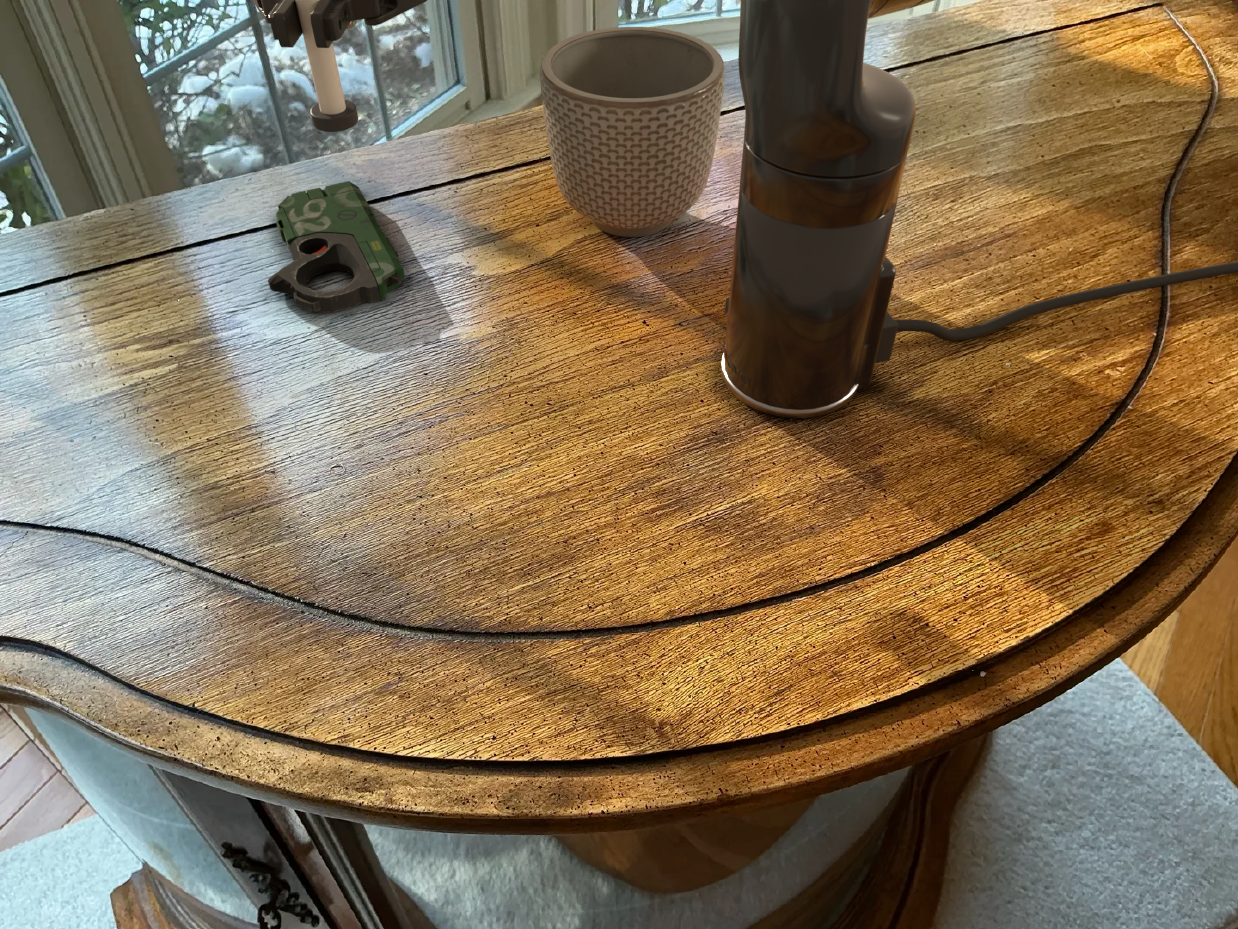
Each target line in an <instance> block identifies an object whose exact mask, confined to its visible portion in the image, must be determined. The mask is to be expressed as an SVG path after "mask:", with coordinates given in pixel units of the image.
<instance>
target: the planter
mask: <svg viewBox="0 0 1238 929" xmlns="http://www.w3.org/2000/svg"><path fill="white" fill-rule="evenodd" d="M539 68H540V70H539V82H540V84H539V85H540V93H541V101H542V109H543V116H544V124H545V133H546V139H547V144H548V151H549V157H550V163H551V168H552V172H553V176H554V179H555V180H554V181H555V183H556V186H557V188H558V190H559V192H560V194H561V196H562V197H563V199H564V200H565V202H566V203H567V204H568V205H569V206H570V207H571V208H572V209H573V210H574V211H575V212H576V213H578V214H580V215H581V216H582V217H584V218H586V219H588V220H589V221H590V222H591V223H592V224H593V226H595V227H596V228H597V229H599V230H600V231H602V232H604V233H606V234H609V235H612V236H616V237H620V238H642V237H647V236H651V235H654V234H657V233H659V232H662V231H664V230H665V229H666V228H667V227H668V226H670V224H671V223H672V222H673V221H674V220H676V219H677V218H680V217H681V216H682V215H684V214H685V213H686V212H688V211H689V210H690V209H692V208H693V206H695V204H696V203H697V202H698V201H699V200H700V198H701V196H702V195H703V193H704V191H705V189H706V187H707V184H708V181H709V177H710V174H711V171H712V167H713V162H714V156H715V151H716V146H717V139H718V135H719V128H720V119H721V112H722V104H723V98H724V90H725V81H726V78H725V76H726V75H725V61H724V59H723V57H722V55H721V54H720V53H719V51H718V50H717V49H716V48H714V47H713V46H712V45H711V44H709V43H708V42H705V41H704V40H703V39H700V38H698V37H695V36H693V35H691V34H688V33H683V32H680V31H677V30H671V29H667V28H658V27H651V26H650V27H649V26H648V27H647V26H616V27H615V26H614V27H607V28H606V27H605V28H599V29H593V30H589V31H584V32H581V33H578V34H574V35H572V36H569V37H567V38H564V39H563V40H560V41H559V42H557V43H556V44H555V45H553V46H551V48H549V50H547V51H546V52H545V54H544V55H543V57H542V59H541V62H540V67H539Z"/></svg>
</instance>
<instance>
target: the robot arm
mask: <svg viewBox="0 0 1238 929" xmlns="http://www.w3.org/2000/svg"><path fill="white" fill-rule="evenodd" d="M251 1H252V3H253V4H254V6H255V7H256V9H257V11H258V12H259V13H260V15H261V16H262V18H263V19H264V21H265V22H266V23H267V24H269V25H270V28H271V32H272V37H273V39H274V41H278V44H279V46H280V47H281V48H294V47H295V45H296V44H297V42H298V41H299V39H300V38H301V37H302V36H303V33H302V28H301V24H300V19H299V15H298V11H297V6H296V2H295V0H251ZM934 1H935V0H740V4H739V5H740V6H739V7H740V8H739V33H738V34H739V35H738V36H739V37H738V74H739V83H740V89H741V94H742V98H743V106H744V112H745V113H744V114H745V116H744V129H743V143H742V154H741V165H740V176H739V189H738V197H737V211H736V221H735V231H734V241H733V242H734V243H733V251H732V264H731V273H730V284H729V296H728V297H727V298H726V299H725V305H724V315H727V316H726V317H727V318H726V329H725V339H724V341H723V342H724V343H723V354H722V357H721V368H720V369H721V370H720V371H721V378H722V380H723V382H724V384H725V386H726V387H727V389H728V390H729V392H730V393H731V394H732V395H733V396H734V397H735V398H737V399H738V400H739V401H740V402H742V403H743V404H745V405H746V406H748V407H750V408H752V409H754V410H756V411H758V412H762V413H764V414H767V415H770V416H771V415H772V416H776V417H779V418H780V417H781V418H787V419H788V418H789V419H808V418H815V417H821V416H824V415H828V414H831V413H833V412H835V411H837V410H839V409H841V408H842V407H844V406H846V405H847V404H848V403H849V402H850V401H852V399H853V398H854V396H855V395H856V393H857V392H859V391H861V390H866V389H869V388H870V387H871V383H872V379H873V374H874V370H875V365H876V364H880V363H885V362H889V361H890V360H891V357H892V353H893V349H894V344H895V340H896V337H897V333H899V332H901V333H902V332H917V333H925V334H926V333H927V334H931V335H933V336H935V337H937V338H938V339H941V340H943V341H948V342H959V341H966V340H972V339H976V338H979V337H982V336H984V335H988V334H990V333H993V332H995V331H997V330H1000V329H1003V328H1005V327H1007V326H1009V325H1012V324H1013V323H1016V322H1019V321H1021V320H1023V319H1026V318H1030V317H1031V316H1034V315H1038V314H1042V313H1046V312H1049V311H1054V310H1058V309H1061V308H1064V307H1070V306H1074V305H1078V304H1083V303H1088V302H1093V301H1097V300H1103V299H1107V298H1112V297H1116V296H1121V295H1127V294H1131V293H1135V292H1136V293H1137V292H1140V291H1141V292H1142V291H1146V290H1150V289H1155V288H1161V287H1164V286H1170V285H1171V286H1172V285H1174V284H1175V285H1176V284H1181V283H1185V282H1191V281H1197V280H1202V279H1206V278H1212V277H1218V276H1219V277H1220V276H1224V275H1230V274H1235V273H1238V260H1237V261H1231V262H1226V263H1220V264H1214V265H1209V266H1204V267H1198V268H1193V269H1188V270H1187V269H1186V270H1181V271H1177V272H1172V273H1166V274H1161V275H1156V276H1152V277H1146V278H1141V279H1136V280H1131V281H1126V282H1121V283H1117V284H1112V285H1107V286H1103V287H1098V288H1092V289H1087V290H1083V291H1079V292H1073V293H1069V294H1065V295H1059V296H1057V297H1053V298H1052V297H1051V298H1048V299H1044V300H1040V301H1037V302H1034V303H1030V304H1027V305H1024V306H1021V307H1019V308H1016V309H1014V310H1011V311H1009V312H1006V313H1004V314H1002V315H999V316H997V317H995V318H993V319H989V320H988V321H986V322H982V323H979V324H977V325H974V326H969V327H964V328H956V329H955V328H953V329H949V328H947V327H945V326H943V325H942V324H939V323H937V322H934V321H929V320H922V319H895V318H893V316H891V314H890V313H889V312H888V309H889V305H890V300H891V296H892V291H893V287H894V283H895V280H896V279H895V278H896V274H897V270H896V266H895V265H894V263H893V262H892V261H891V260H890V259H889V257H887V256H886V255H887V250H888V246H889V242H890V237H891V231H892V228H893V223H894V218H895V214H896V209H897V205H898V200H899V195H900V189H901V186H902V181H903V175H904V171H905V168H906V164H907V163H906V162H907V159H908V153H909V149H910V147H911V142H912V136H913V132H914V127H915V122H916V116H917V115H916V113H917V109H916V108H917V107H916V106H917V105H916V100H915V97H914V94H913V93H912V91H911V90H910V88H909V87H908V86H907V85H906V84H905V83H904V82H903V81H902V80H900V79H899V78H898V77H896V76H895V75H893V74H891V73H890V72H888V71H886V70H884V69H883V68H879V67H877V66H875V65H872V64H869V63H867V62H864V60H865V49H866V48H865V46H866V36H867V27H868V21H869V20H871V19H875V18H878V17H882V16H886V15H890V14H894V13H898V12H902V11H905V10H908V9H912V8H915V7H919V6H922V5H925V4H928V3H931V2H934ZM426 2H428V0H320V1H319V2H318V4H317V5H316V7H315V8H314V10H313V11H312V13H311V25H312V30H313V34H314V39H315V43H316V46H317V48H329V47H330V46H331V44H332V43H334V42H336V41H339V40H340V39H341V38H342V37H343V35H344V33H345V32H346V30H349V29H352V28H354V27H355V26H356V24H357V22H358V21H363V20H364V24H365V25H366V26H370V27H371V26H372V27H377V26H379V25H382V24H383V23H386V22H387V21H390V20H392V19H394V18H397V17H398V16H400V15H402V14H404V13H406V12H409V11H410V10H412V9H413V8H417V7H419V6H420V5H422V4H424V3H426Z"/></svg>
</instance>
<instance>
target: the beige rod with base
mask: <svg viewBox="0 0 1238 929" xmlns="http://www.w3.org/2000/svg"><path fill="white" fill-rule="evenodd" d="M319 1H320V0H295V2H296V6H297V11H298V15H299V19H300V24H301V28H302V36H303V42H304V45H305V50H306V55H307V58H308V64H309V67H310V72H311V77H312V81H313V84H314V89H315V90H314V91H315V94H316V98H317V102H318V103H315V104H314V105H312V107H311V108H310V112H309V113H310V117H311V122H312V125H313V127H314V128H315V129H316V130H317V131H320V132H324V133H325V132H326V133H338V132H343V131H347V130H349V129H352V128H354V126H356V125H357V124H358V122H359V114H358V110H357V105H356V104H355V103H354V102H353V101H350V100H348V99H345V96H344V91H343V86H342V81H341V77H340V72H339V66H338V62H337V58H336V53H335V48H334V42H332V44H331V46H330V47H329V48H317V46H316V43H315V39H314V34H313V30H312V25H311V13H312V11H313V10H314V8H315V7H316V5H317V4H318V2H319Z"/></svg>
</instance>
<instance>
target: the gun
mask: <svg viewBox="0 0 1238 929" xmlns="http://www.w3.org/2000/svg"><path fill="white" fill-rule="evenodd" d="M277 208H278V211H277V212H276V213H275V215H276V219H277V220H276V223H275V224H276V227H277V231H278V234H279V236H280V239H281V240H282V242H283V243H286V246H287V248H288V250H289V252H290V254H291V257H292V260H293V261H292V262H290V263H289V264H287V265H285V266H283V267H282V268H281V269H280V270H278V271H276V272H275V273H274V274H272V275H271V276H270V277H269V278H268V279H267V283H268V287H269V290H270V291H273V292H276V293H281V294H286V295H288V296H290V297H291V298H293V299H294V302H295V304H296V305H297V306H299V307H301V308H302V309H305V310H308V311H311V312H318V313H335V312H341V311H345V310H349V309H353V308H355V307H357V306H358V305H361V304H363V303H365V302H368V303H371V304H373V303H377V302H381V301H383V302H384V301H386V296H387V293H388V292H390V291H392V290H393V289H395V288H397V287H398V286H400V285H401V283H402V282H403V280H404V278H405V276H406V275H405V271H404V267H403V266H402V264H401V262H400V260H399V258H398V257H399V254H398V253H399V252H398V249H397V247H396V246H395V244H394V243H393V240H392V239H391V237H390V236H387V235H385V233H384V231H383V229H382V228H381V227H380V225H379V223H378V221H377V219H376V217H375V215H374V212H373V211H372V208H371V207H370V205H369V203H368V201H367V199H366V198H365V196H364V194H363V192H362V191H361V189H360V187H359V186H358V185H356V184H355V183H353V182H352V181H350V180H348V181H344V182H338V183H334V184H329V185H325V187H324V189H322V188H321V187H316V188H315V187H314V188H312V189H307V190H303V191H297V192H294V193H291V195H287V196H286V197H285V198H284V199H283V200H282V201H281V202H280V203H279V204H278V205H277ZM330 271H343V272H347V273H349V274H351V275H352V276H353V278H352V280H351V281H350V282H349V283H348V284H347V285H344V286H343V287H341V288H338V289H333V290H326V291H320V290H315V289H311V288H310V287H308V283H309V281H310V280H311V279H313V278H314V277H315V276H317V275H320V274H322V273H325V272H330Z"/></svg>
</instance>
